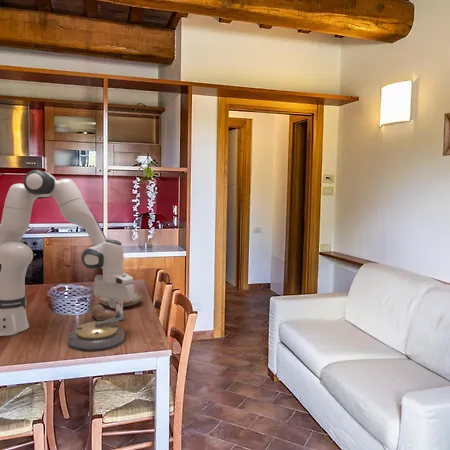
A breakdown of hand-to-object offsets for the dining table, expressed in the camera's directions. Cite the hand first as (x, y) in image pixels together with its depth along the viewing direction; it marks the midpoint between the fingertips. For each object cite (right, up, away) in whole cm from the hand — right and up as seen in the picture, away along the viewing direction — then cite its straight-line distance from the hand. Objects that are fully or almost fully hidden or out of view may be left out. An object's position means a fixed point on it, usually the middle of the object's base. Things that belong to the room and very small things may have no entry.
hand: (113, 307), depth 191 cm
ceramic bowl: (-7, -6, +42) cm, 43 cm away
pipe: (-7, -9, +18) cm, 21 cm away
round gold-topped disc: (-2, -8, -9) cm, 12 cm away
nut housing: (-4, -11, -12) cm, 17 cm away
